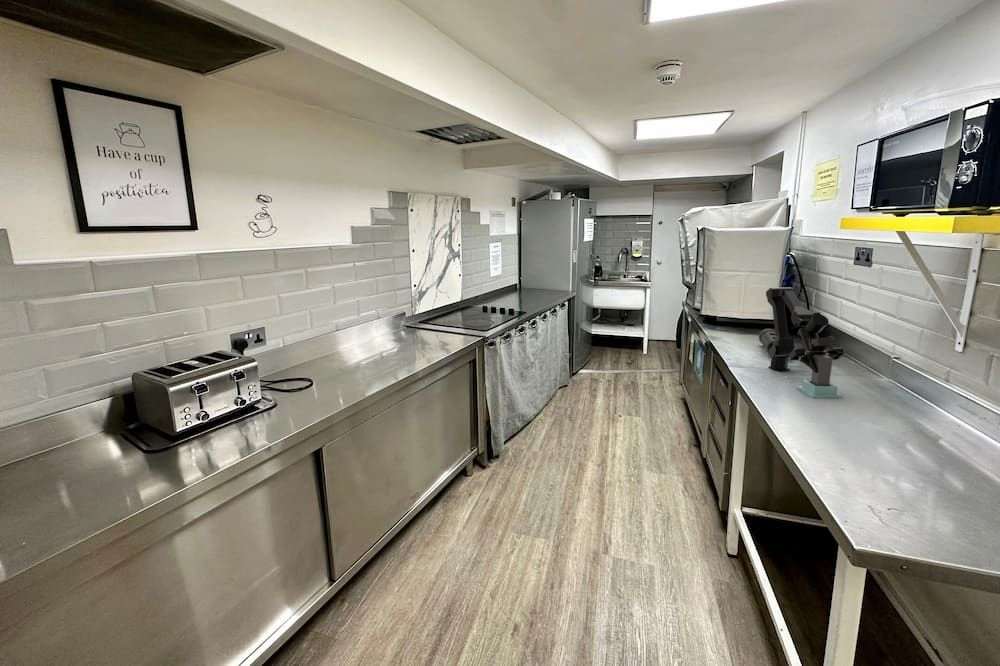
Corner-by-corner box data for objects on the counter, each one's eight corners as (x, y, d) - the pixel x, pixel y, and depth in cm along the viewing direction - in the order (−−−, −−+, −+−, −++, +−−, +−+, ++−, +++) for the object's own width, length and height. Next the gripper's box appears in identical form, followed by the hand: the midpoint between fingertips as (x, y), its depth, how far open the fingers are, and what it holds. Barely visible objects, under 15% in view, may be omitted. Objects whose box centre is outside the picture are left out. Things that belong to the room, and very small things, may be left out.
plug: (810, 385, 183) (814, 354, 180) (821, 385, 182) (825, 354, 180) (816, 389, 179) (820, 357, 176) (828, 389, 178) (832, 357, 175)
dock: (796, 388, 187) (797, 379, 186) (824, 388, 186) (826, 378, 185) (812, 397, 176) (813, 388, 175) (842, 397, 175) (843, 388, 174)
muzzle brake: (765, 358, 229) (767, 338, 227) (757, 345, 254) (758, 327, 252) (786, 359, 226) (789, 339, 223) (776, 346, 251) (778, 328, 249)
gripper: (795, 329, 180) (808, 363, 172) (845, 328, 178) (860, 362, 170) (783, 343, 189) (794, 376, 181) (830, 342, 188) (844, 375, 179)
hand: (823, 372), depth 178 cm, fingers closed on plug, 4 cm apart
